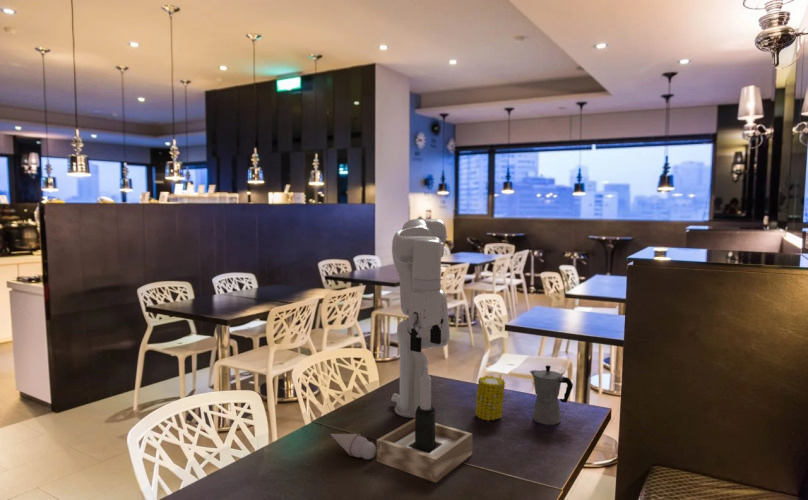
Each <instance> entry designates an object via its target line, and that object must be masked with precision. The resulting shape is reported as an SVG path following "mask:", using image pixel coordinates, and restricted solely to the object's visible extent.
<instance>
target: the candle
mask: <svg viewBox="0 0 808 500" xmlns="http://www.w3.org/2000/svg"><path fill="white" fill-rule="evenodd" d="M424 369H425V370H424V373H423V376H422V377H421V379H420V406H418V408H417V410H416V412H415V449H417V450H420V451H423V452H426V453H430V452H432V451H433V450H435V423H436V408H434V406H433V405H432V378H431V376H430V375H429V370H428V371H427V367H424Z"/></svg>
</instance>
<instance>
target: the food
mask: <svg viewBox="0 0 808 500" xmlns="http://www.w3.org/2000/svg"><path fill="white" fill-rule="evenodd" d="M505 384H506V382H505V380H504V379H503V378H501V377H497V376H494V375H485V376H482V377H479V378H478V384H477V388H476V389H477V390H476V398H475V399H476V400H475V411H474V412H475V416H476V417H478V418H479V419H481V420H483V421H484V420H485V421H487V422H488V421H490V420H491V421H494V420H498V419H501V418H502V416H503V415H502V413H503V407H504V396H505V388H506V387H505Z"/></svg>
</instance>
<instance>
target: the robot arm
mask: <svg viewBox="0 0 808 500" xmlns="http://www.w3.org/2000/svg"><path fill="white" fill-rule="evenodd" d="M446 240H447V227H446V225H445V223H444V221H442V220H441V219H438V218H430V219H429V218H414V219H413V218H412V219H409V220H408V221H406V222H405V223H404V224H403V226H402V229H401V230H399V231H397V232H396V233H394V235H393V239H392V241H391V242H392V243H391V254H392V261H393V264H394V266H395V269H396V273H397V274H398V279H399V295H400V296H399V301H400V302H399V303H400V309H401V312H402V313H403V315H405V316H408V319H407V318H406V319H403V320H401V321H400V322H398V324H397V327H396V328H397V331H396V334H397V341H398V342H397V343H398V350H399V351H398V352H399V353H398V354H399V393H396V392H395V393H393V394H392V397H391V398H390V400H391V401H392V402H395V403H396V405H395V406H394V412H395V414H396V415H399V416H400V417H404V418H409V419H414V418H415V412H416V410H417V408H418V406H420V379H421V377H422V376H423V373H424V370H425V369H424V367H427V371H428V372H429V361H428V358H427V355H426V354H425V353H424V351H422V348H423V349H424V348H442V347H443V348H444V347H446V346H447V345H449V342H450V332H451V331H450V322H449V320H450V319H449V309H448V308H449V307H448V300H447V295H446V293H445V291H444V290H443V289H442V288H441V283H442V282H441V280H442V279H441V275H442V274H441V270H442V257H444V252H445V244H446ZM391 401H390V402H391Z"/></svg>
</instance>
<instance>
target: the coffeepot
mask: <svg viewBox="0 0 808 500" xmlns="http://www.w3.org/2000/svg"><path fill="white" fill-rule="evenodd" d="M551 368H552V367H551V365H548V364H547V365H545V369H542V370H536V369H534V370H530V371H529V373H530V374H531V375H532V377H533V382H534V390H535V391H534V392H535V395H536V399H535V402H534V406H533V407H534V409H533V414H532V416H531V417H532V419H533V421H534V422H536V423H539V424H540V425H541V424H542V425H549V426H551V425H552V426H553V425H554V426H555V425H558V424H560V422H561V421H562V416H561V415H562V414H561V411H560V409H561V408H560V403H559V401H560V402H561V403H563V404H564V403H565V404H566V403H567V402H568V400H569V397H570V394H571V392H572V390H573V387H574V384H573V382H572V381H571V379H570V378H569V377H567V376H564V375H563V374H562V373H559V372H557V371H555V370H554V371H553V370H551ZM562 384H566V389H565V392H564V393H563V394H564V396H563V398H560V399H559V400H558V398H559V394H560V391H561V385H562Z"/></svg>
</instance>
